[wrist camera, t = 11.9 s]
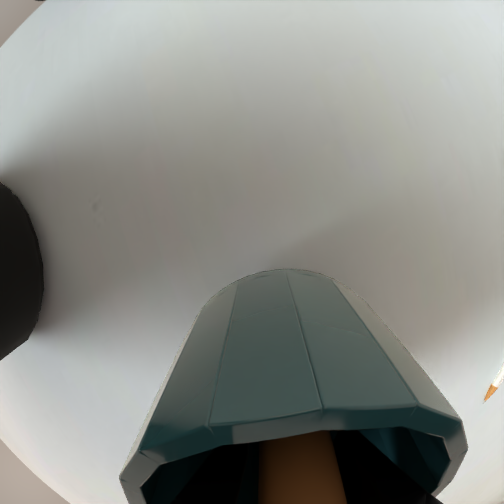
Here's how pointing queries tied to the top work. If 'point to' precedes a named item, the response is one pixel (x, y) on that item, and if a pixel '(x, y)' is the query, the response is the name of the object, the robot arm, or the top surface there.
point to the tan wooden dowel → (300, 471)
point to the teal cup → (290, 387)
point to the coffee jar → (18, 274)
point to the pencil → (495, 383)
